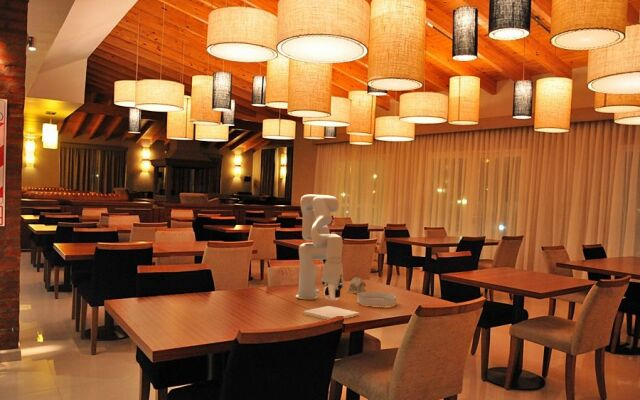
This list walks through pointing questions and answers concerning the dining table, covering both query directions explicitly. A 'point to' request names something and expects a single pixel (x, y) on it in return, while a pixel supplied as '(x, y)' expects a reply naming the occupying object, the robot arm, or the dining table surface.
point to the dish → (376, 299)
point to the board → (330, 312)
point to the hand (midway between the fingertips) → (332, 295)
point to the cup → (331, 291)
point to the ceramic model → (356, 285)
